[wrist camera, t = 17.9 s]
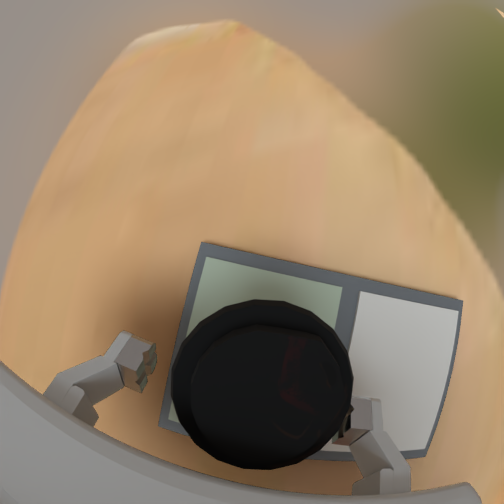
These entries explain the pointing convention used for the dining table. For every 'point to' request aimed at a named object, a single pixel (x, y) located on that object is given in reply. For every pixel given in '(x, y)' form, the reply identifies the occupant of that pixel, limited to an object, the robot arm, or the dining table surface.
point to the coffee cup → (262, 384)
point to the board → (343, 335)
